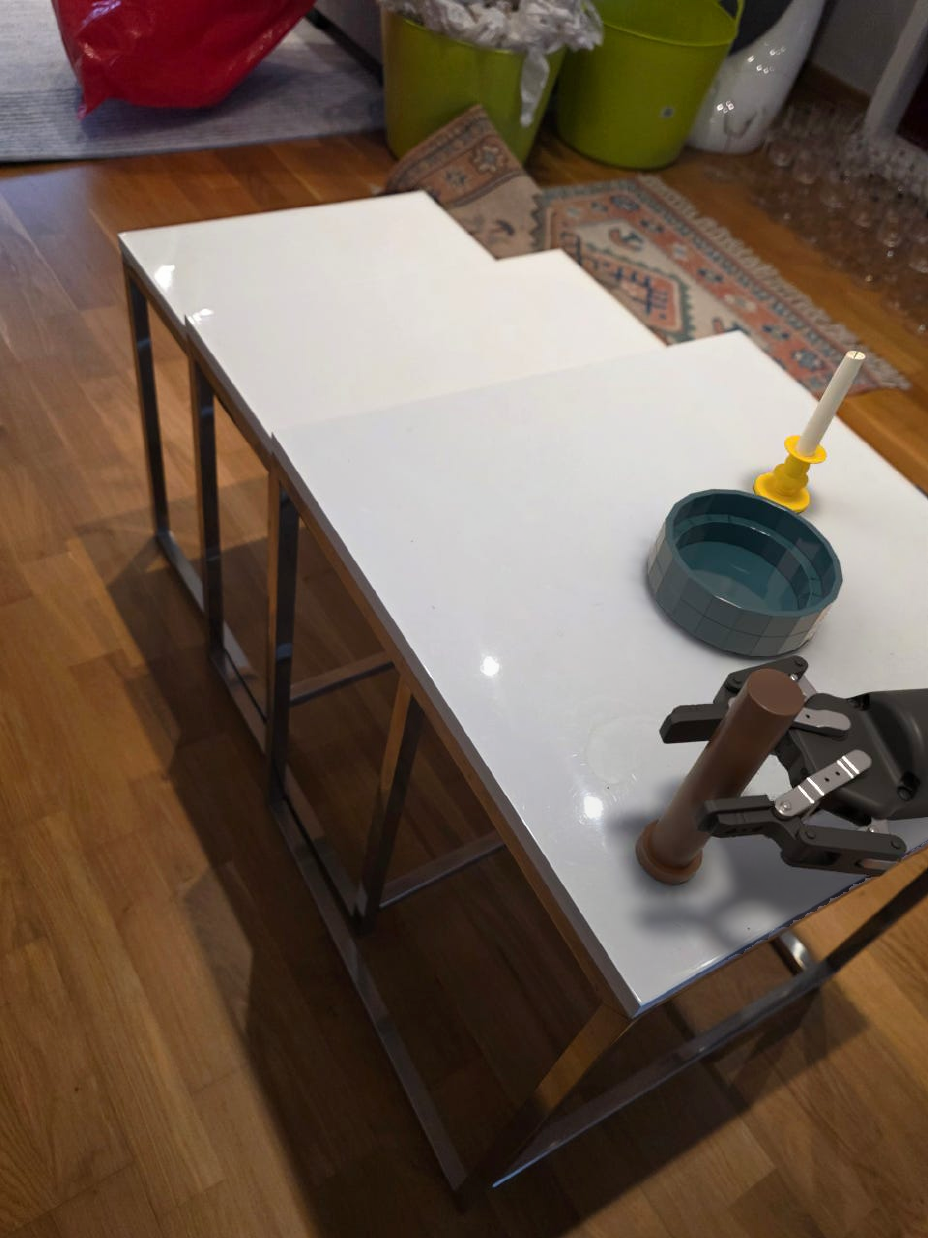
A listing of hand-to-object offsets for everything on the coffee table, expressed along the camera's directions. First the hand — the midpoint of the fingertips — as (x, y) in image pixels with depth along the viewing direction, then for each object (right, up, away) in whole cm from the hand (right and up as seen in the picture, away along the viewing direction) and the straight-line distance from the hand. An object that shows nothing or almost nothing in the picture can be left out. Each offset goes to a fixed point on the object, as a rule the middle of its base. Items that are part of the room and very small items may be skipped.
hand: (683, 771), depth 53 cm
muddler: (+1, -7, +8) cm, 10 cm away
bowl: (+10, +10, +26) cm, 29 cm away
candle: (+17, +20, +36) cm, 45 cm away
